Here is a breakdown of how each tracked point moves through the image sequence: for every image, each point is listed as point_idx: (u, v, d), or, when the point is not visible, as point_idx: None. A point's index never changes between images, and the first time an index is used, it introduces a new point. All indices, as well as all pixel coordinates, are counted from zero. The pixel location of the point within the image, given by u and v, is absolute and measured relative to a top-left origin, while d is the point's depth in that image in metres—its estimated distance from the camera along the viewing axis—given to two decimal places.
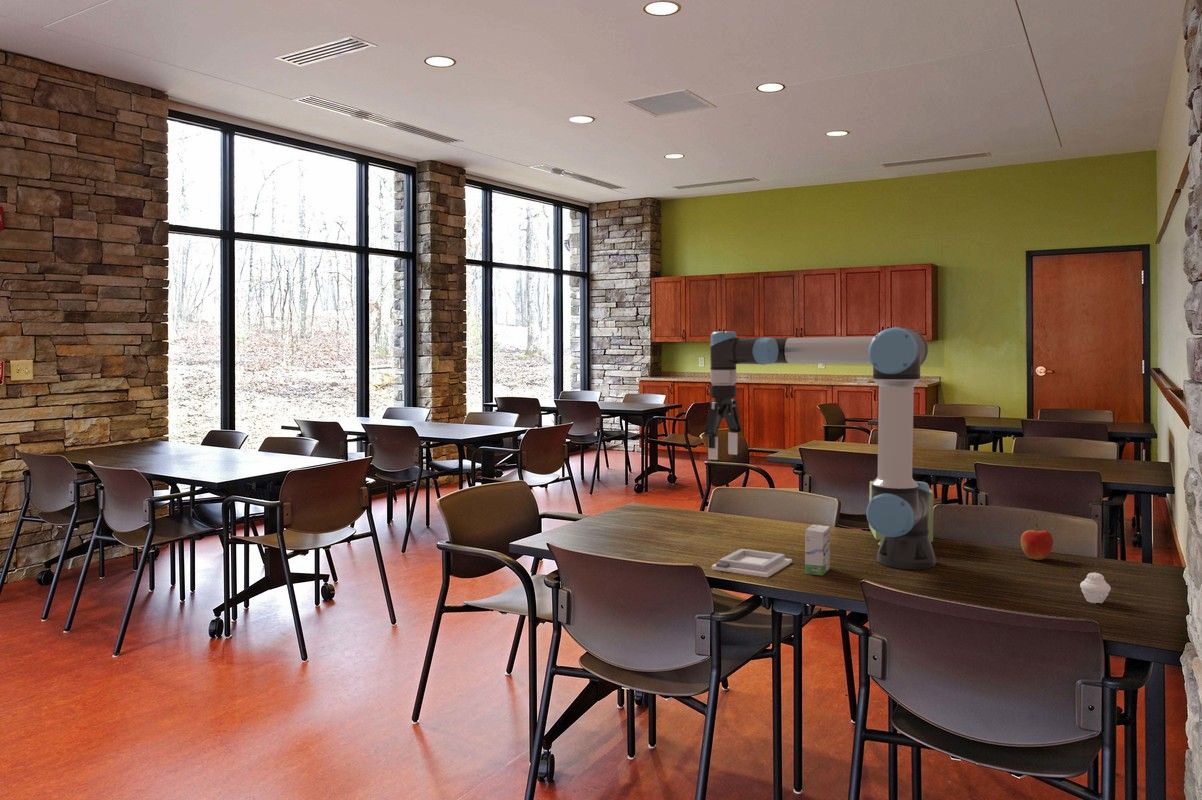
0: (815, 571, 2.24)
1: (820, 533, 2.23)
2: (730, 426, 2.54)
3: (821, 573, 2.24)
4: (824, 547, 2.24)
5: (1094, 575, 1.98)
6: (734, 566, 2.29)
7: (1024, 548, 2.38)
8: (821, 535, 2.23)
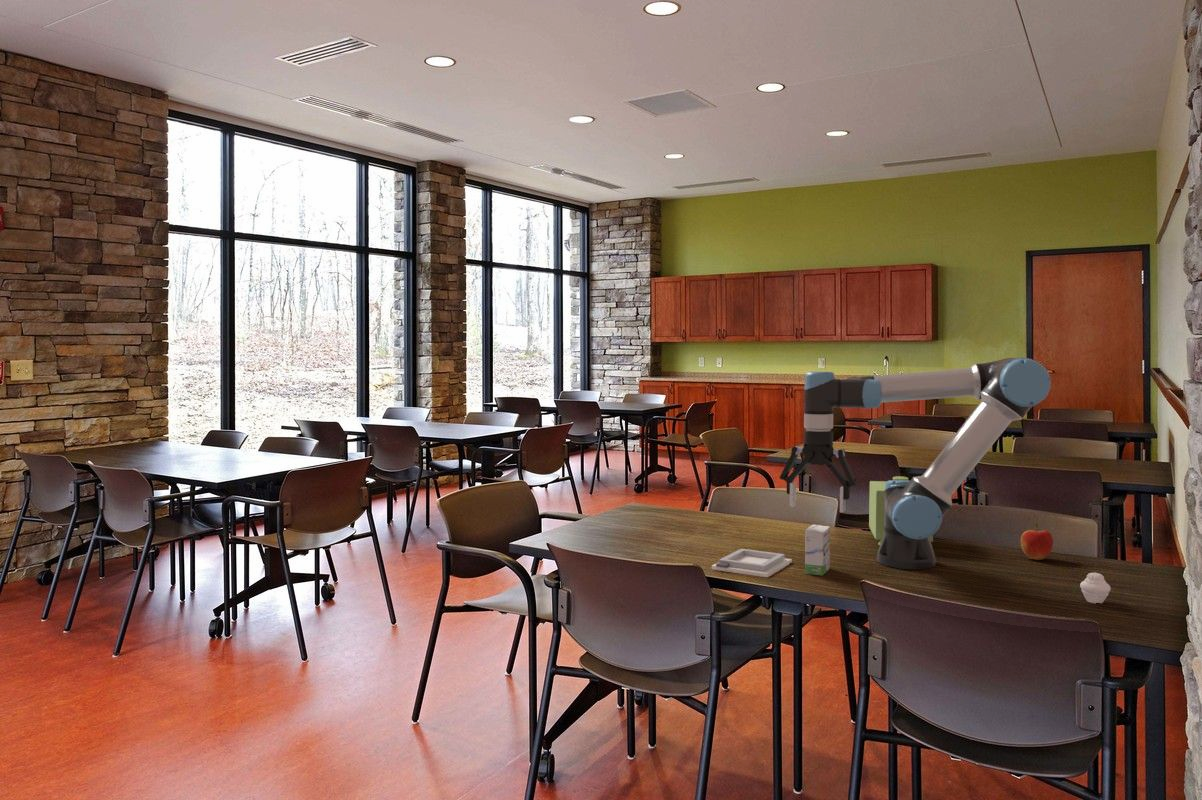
0: (815, 571, 2.24)
1: (820, 533, 2.23)
2: None
3: (821, 573, 2.24)
4: (824, 547, 2.24)
5: (1094, 575, 1.98)
6: (734, 566, 2.29)
7: (1024, 548, 2.38)
8: (821, 535, 2.23)
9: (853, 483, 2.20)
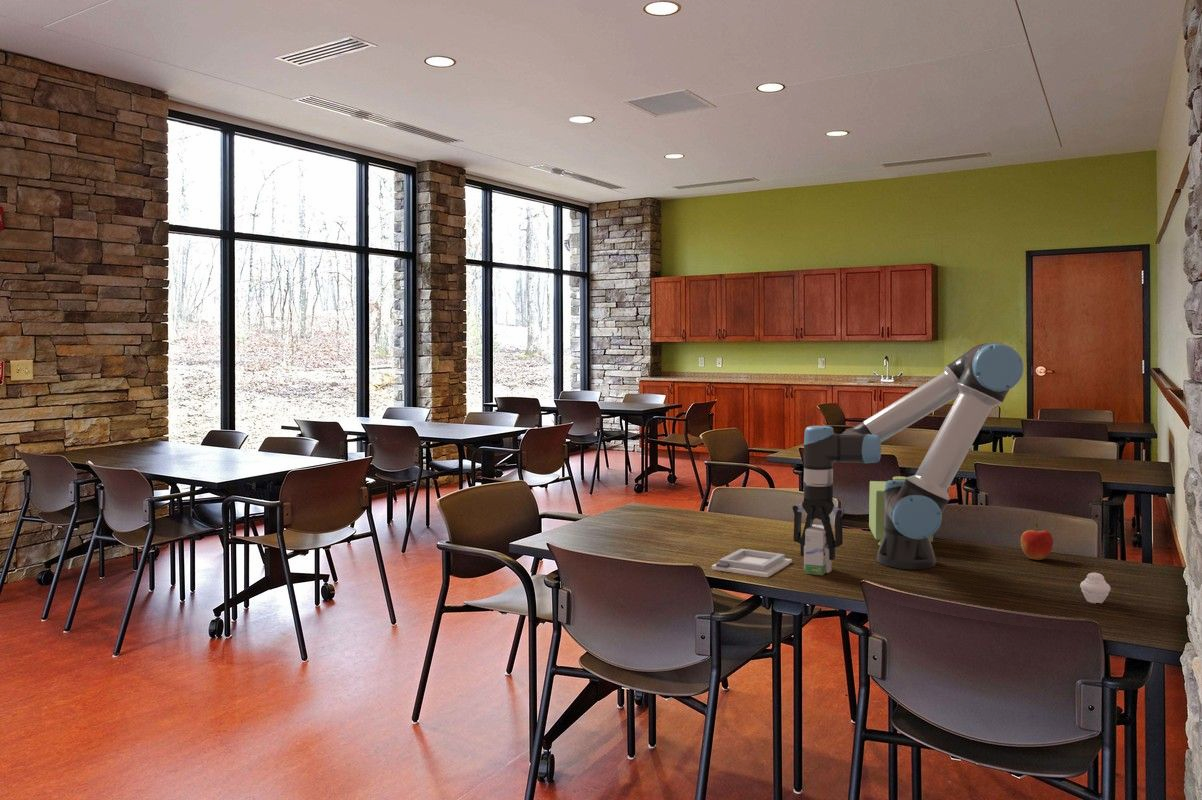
0: (815, 571, 2.24)
1: (820, 533, 2.23)
2: None
3: (821, 573, 2.24)
4: (824, 547, 2.24)
5: (1094, 575, 1.98)
6: (734, 566, 2.29)
7: (1024, 548, 2.38)
8: (821, 535, 2.23)
9: (838, 545, 2.23)
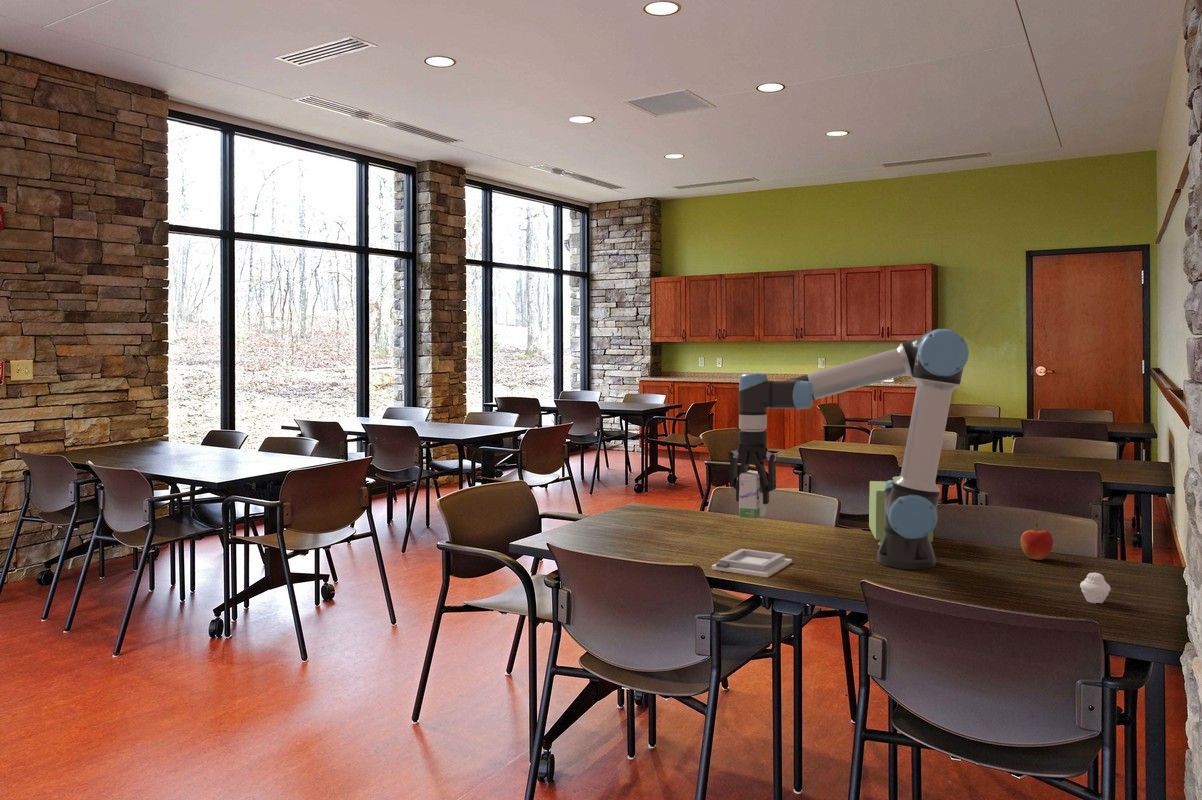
0: (749, 514, 2.29)
1: (753, 477, 2.28)
2: None
3: (754, 516, 2.28)
4: (758, 491, 2.29)
5: (1094, 575, 1.98)
6: (734, 566, 2.29)
7: (1024, 548, 2.38)
8: (754, 479, 2.28)
9: (771, 489, 2.28)
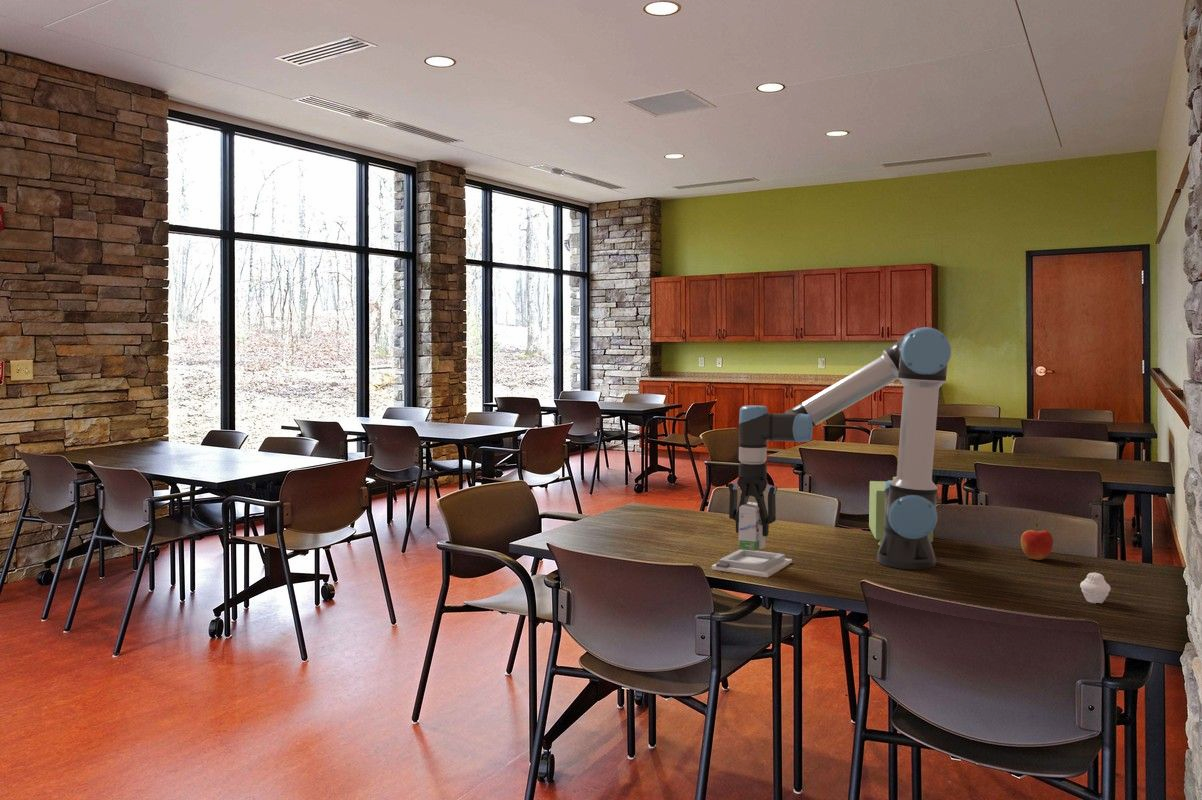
0: (748, 546, 2.30)
1: (753, 509, 2.29)
2: None
3: (754, 548, 2.29)
4: (757, 523, 2.30)
5: (1094, 575, 1.98)
6: (734, 566, 2.29)
7: (1024, 548, 2.38)
8: (754, 511, 2.29)
9: (771, 521, 2.29)
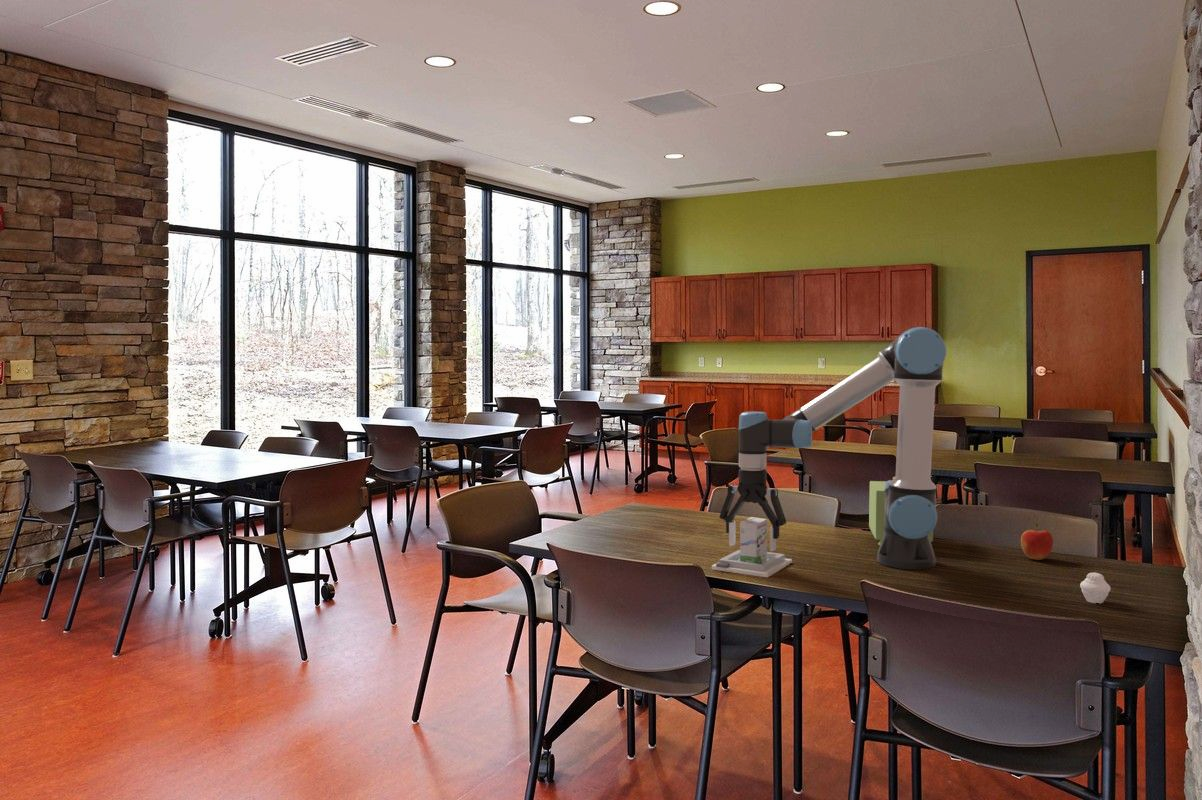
0: (749, 562, 2.30)
1: (754, 525, 2.29)
2: None
3: None
4: (758, 539, 2.30)
5: (1094, 575, 1.98)
6: (734, 566, 2.29)
7: (1024, 548, 2.38)
8: (755, 527, 2.29)
9: (782, 523, 2.27)
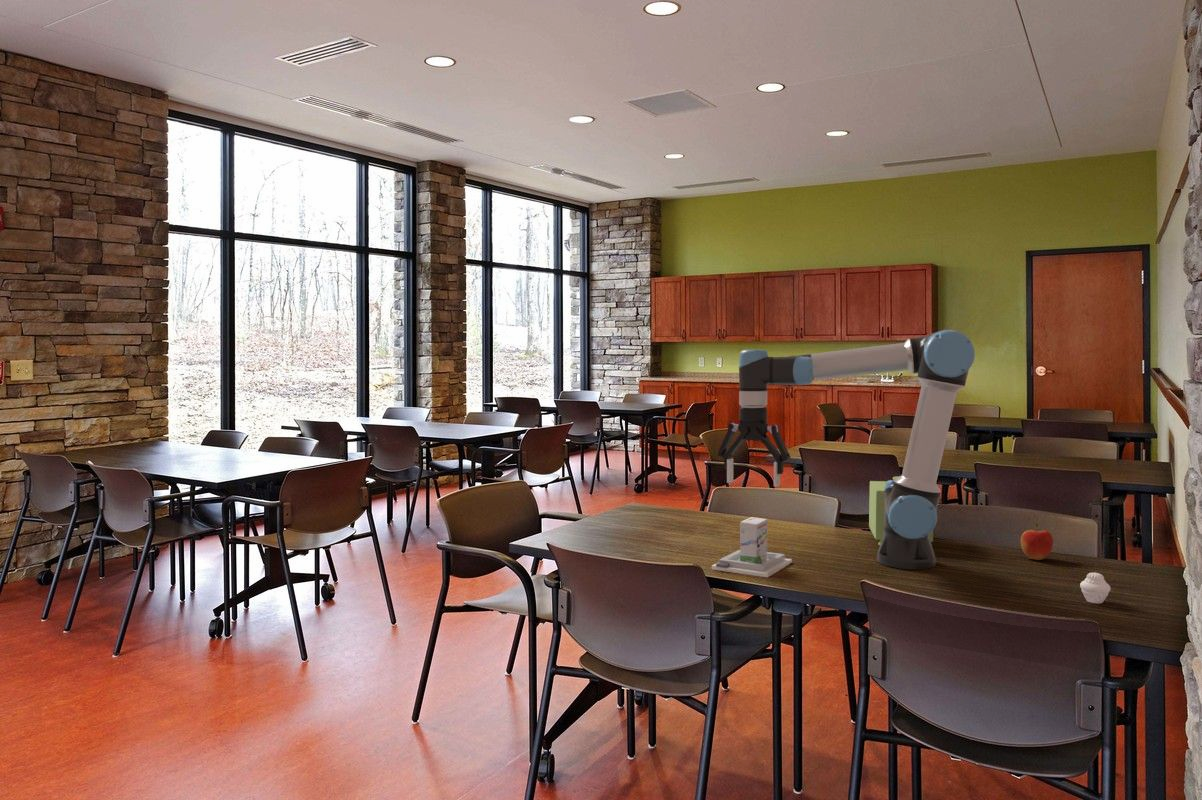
0: (749, 562, 2.30)
1: (754, 525, 2.29)
2: None
3: None
4: (758, 539, 2.30)
5: (1094, 575, 1.98)
6: (734, 566, 2.29)
7: (1024, 548, 2.38)
8: (755, 527, 2.29)
9: (786, 458, 2.26)
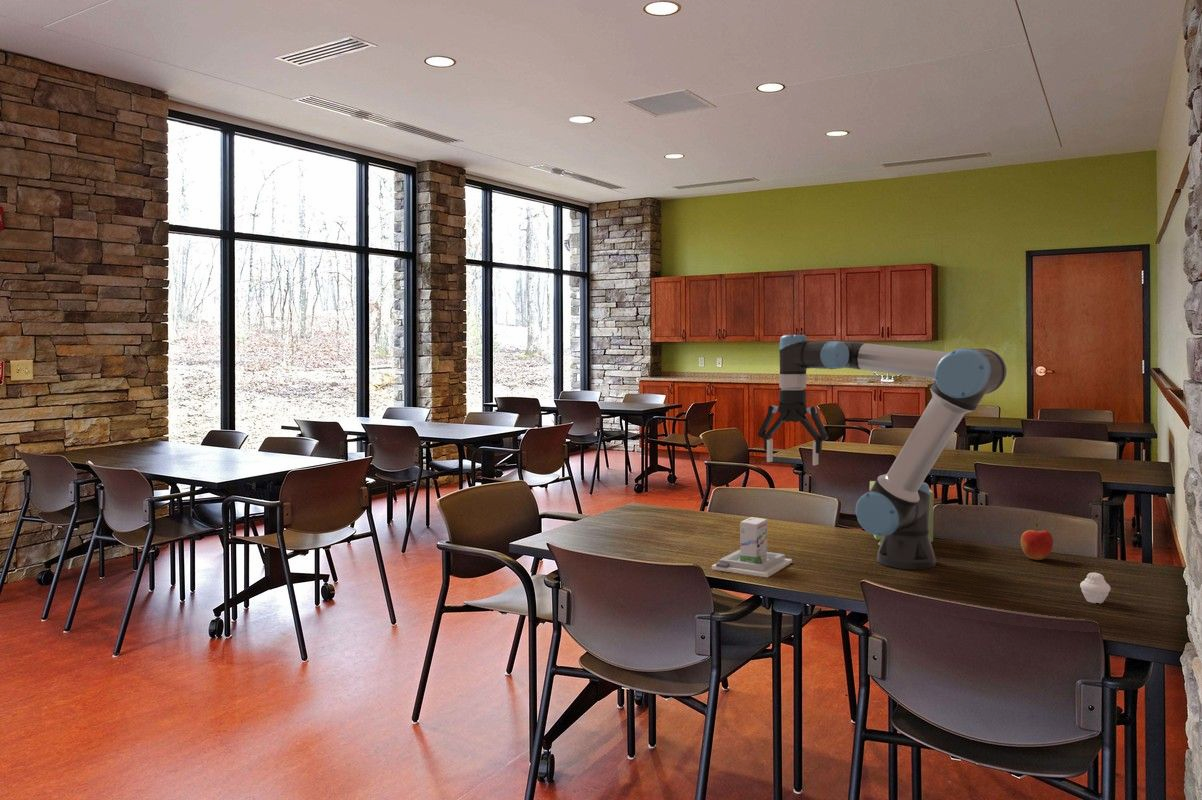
0: (749, 562, 2.30)
1: (754, 525, 2.29)
2: None
3: None
4: (758, 539, 2.30)
5: (1094, 575, 1.98)
6: (734, 566, 2.29)
7: (1024, 548, 2.38)
8: (755, 527, 2.29)
9: (825, 437, 2.37)
